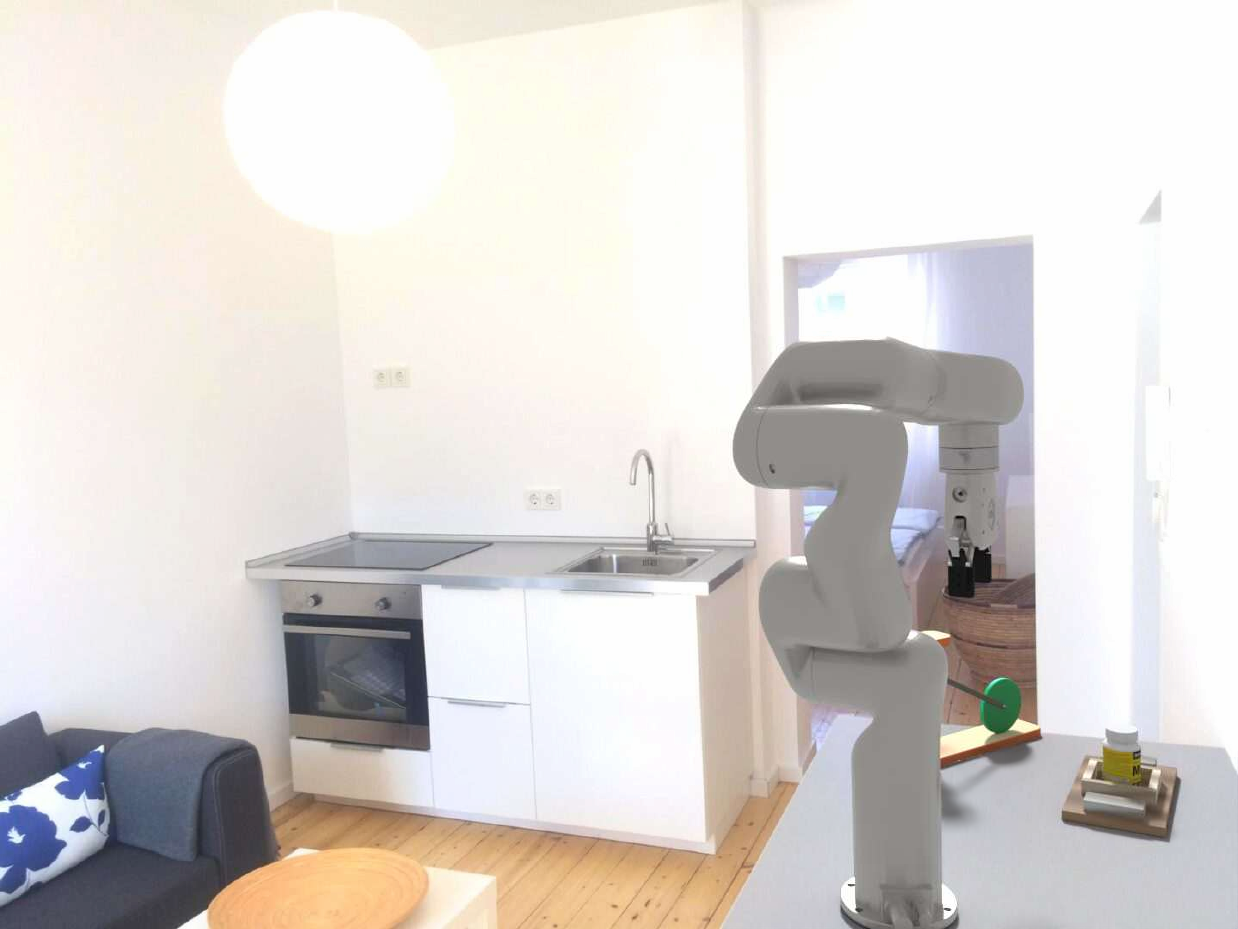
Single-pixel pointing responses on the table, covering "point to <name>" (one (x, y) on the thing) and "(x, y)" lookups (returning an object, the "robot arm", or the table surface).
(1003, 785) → the table surface
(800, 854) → the table surface
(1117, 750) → the supplement bottle
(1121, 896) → the table surface
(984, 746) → the crank mechanism
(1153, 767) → the jig board
